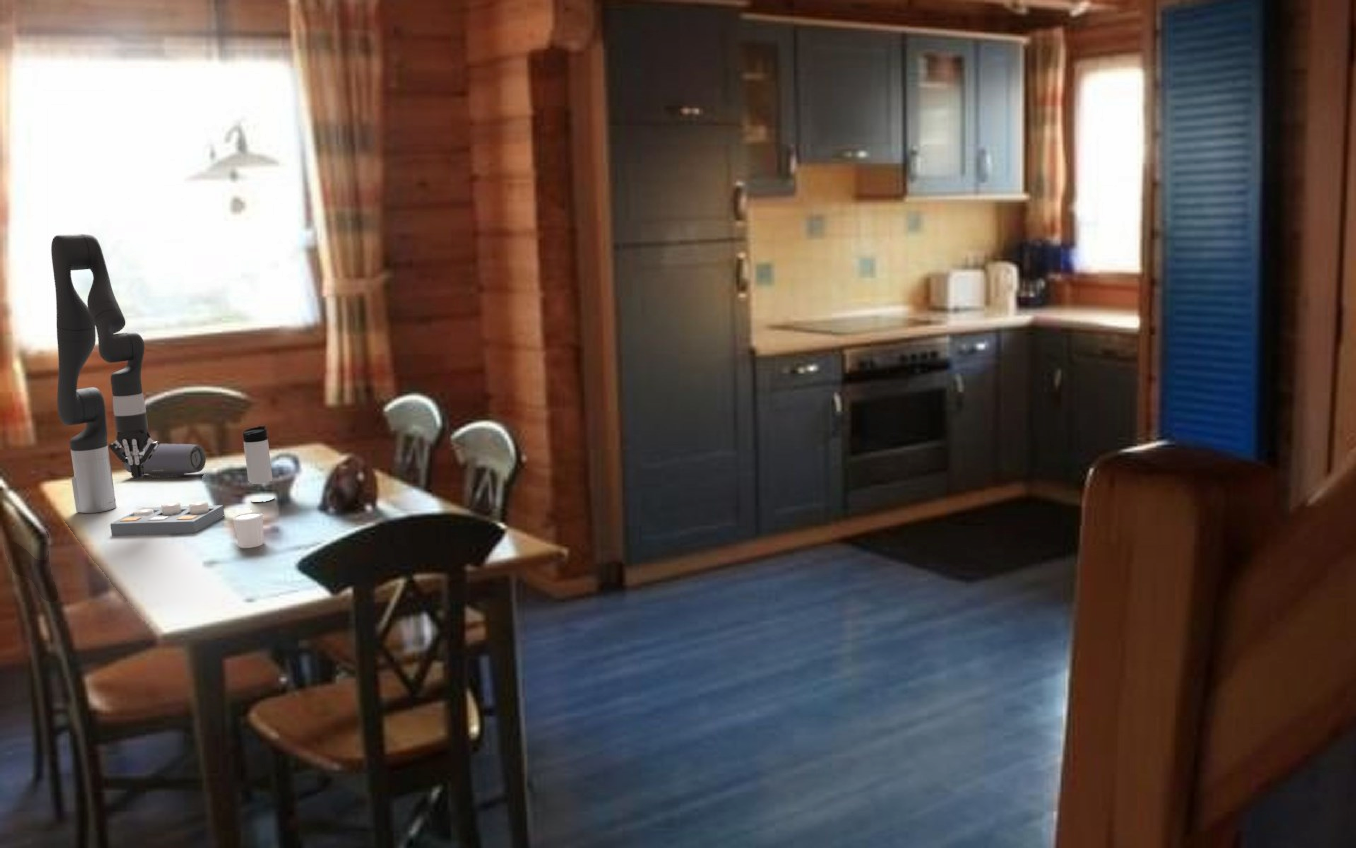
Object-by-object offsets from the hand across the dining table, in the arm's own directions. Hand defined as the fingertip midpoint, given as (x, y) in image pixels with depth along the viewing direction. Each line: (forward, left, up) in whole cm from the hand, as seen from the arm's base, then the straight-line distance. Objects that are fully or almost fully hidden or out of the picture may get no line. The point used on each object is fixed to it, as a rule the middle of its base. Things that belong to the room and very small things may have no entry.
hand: (138, 478), depth 331 cm
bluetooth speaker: (-25, +58, -12) cm, 65 cm away
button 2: (+15, 0, -10) cm, 18 cm away
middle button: (+8, 0, -10) cm, 13 cm away
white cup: (+39, -22, -12) cm, 46 cm away
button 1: (0, 0, -12) cm, 12 cm away
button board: (+8, -2, -12) cm, 15 cm away
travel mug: (+22, +23, -12) cm, 34 cm away
